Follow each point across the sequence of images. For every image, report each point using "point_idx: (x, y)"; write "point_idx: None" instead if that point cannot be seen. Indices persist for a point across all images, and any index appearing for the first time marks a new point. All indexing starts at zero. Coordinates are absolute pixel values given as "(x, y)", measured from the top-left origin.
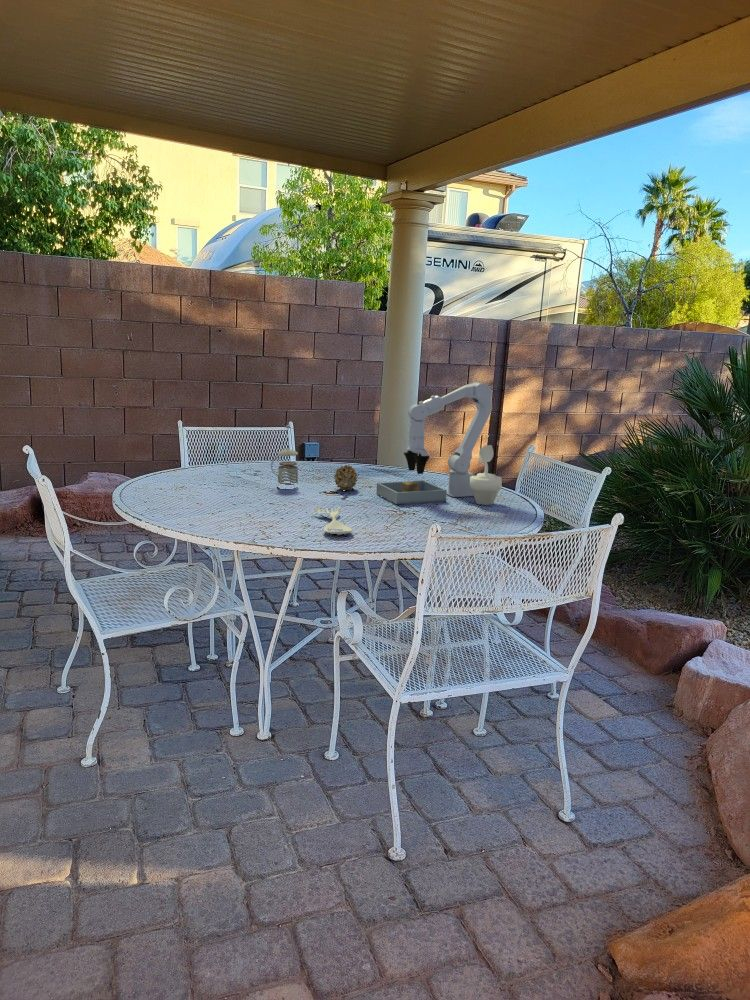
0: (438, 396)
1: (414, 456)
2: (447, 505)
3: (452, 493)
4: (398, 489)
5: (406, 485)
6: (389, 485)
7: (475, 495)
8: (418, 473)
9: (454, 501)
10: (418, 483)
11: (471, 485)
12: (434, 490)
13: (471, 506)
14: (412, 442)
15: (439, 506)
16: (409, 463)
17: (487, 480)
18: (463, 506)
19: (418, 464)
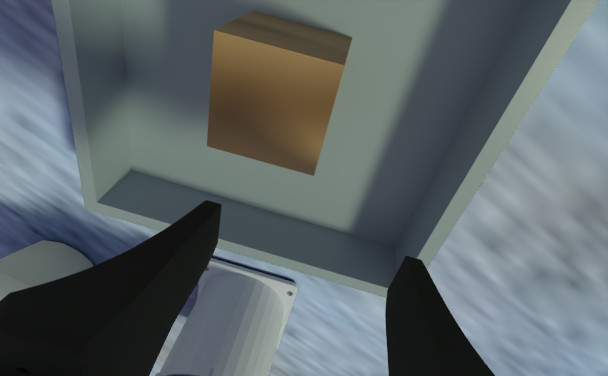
0: None
1: (63, 331)
2: (47, 120)
3: (225, 279)
4: (473, 111)
5: (238, 32)
6: (534, 38)
7: (26, 258)
8: (201, 204)
9: None
10: (222, 149)
11: None
12: (81, 143)
13: (18, 193)
14: None
15: (26, 65)
16: (418, 320)
17: None
18: (19, 167)
19: (124, 259)
